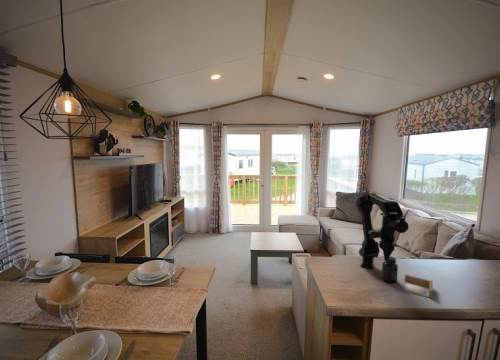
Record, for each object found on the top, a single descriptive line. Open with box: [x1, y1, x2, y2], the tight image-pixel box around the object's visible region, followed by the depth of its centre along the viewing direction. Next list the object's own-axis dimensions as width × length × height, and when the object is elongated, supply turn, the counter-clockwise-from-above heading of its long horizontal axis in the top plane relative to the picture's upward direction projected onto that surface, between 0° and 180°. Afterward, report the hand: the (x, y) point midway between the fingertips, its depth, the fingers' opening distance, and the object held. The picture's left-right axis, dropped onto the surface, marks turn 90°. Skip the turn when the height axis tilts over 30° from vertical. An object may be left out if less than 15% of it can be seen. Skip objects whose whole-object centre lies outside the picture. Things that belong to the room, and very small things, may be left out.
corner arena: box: [402, 274, 434, 300], centre depth 115 cm, size 11×11×4 cm
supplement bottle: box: [381, 255, 399, 285], centre depth 122 cm, size 7×7×12 cm
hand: (386, 256), depth 121 cm, fingers open, 9 cm apart
